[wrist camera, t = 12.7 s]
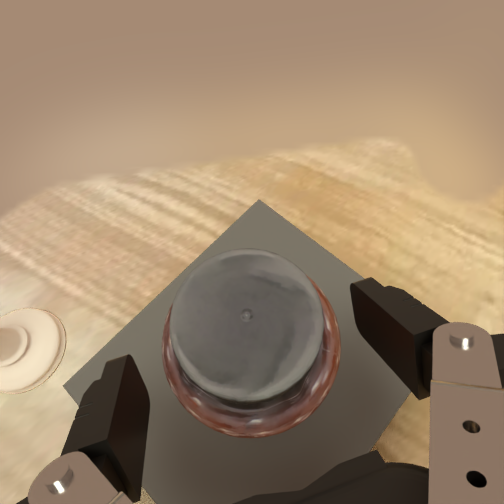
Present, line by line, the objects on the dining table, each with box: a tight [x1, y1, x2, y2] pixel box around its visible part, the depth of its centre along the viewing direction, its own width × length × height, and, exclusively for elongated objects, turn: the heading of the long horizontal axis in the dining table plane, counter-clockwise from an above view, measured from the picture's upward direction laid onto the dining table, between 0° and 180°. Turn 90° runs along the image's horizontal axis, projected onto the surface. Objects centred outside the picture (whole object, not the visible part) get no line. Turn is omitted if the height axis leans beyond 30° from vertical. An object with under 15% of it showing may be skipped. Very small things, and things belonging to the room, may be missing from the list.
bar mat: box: [63, 200, 411, 504], centre depth 20 cm, size 16×14×1 cm
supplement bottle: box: [162, 248, 341, 438], centre depth 14 cm, size 6×6×11 cm
